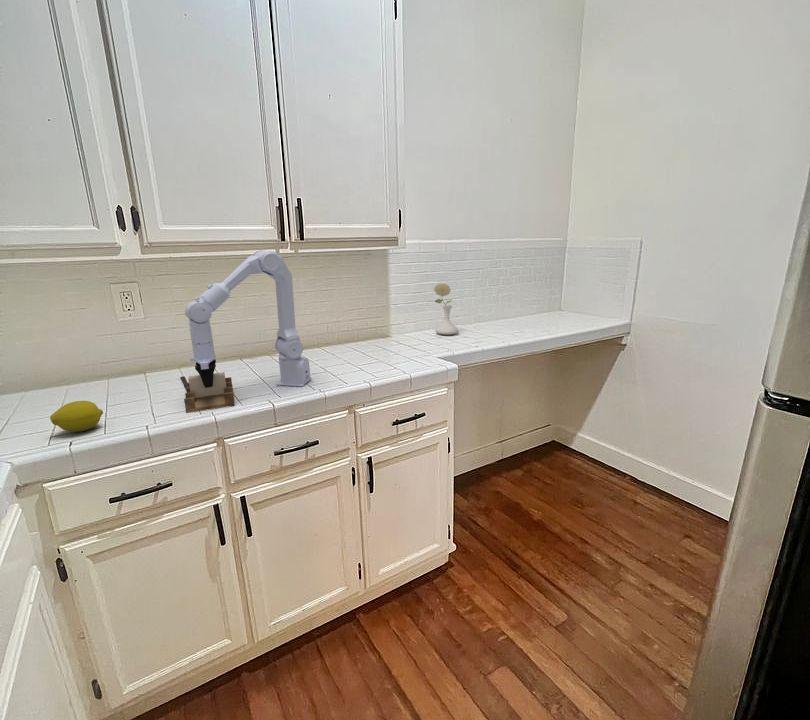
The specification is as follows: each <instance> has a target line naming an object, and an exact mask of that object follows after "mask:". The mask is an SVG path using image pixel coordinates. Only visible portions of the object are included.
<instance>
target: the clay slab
mask: <svg viewBox="0 0 810 720" xmlns="http://www.w3.org/2000/svg"><path fill="white" fill-rule="evenodd" d="M225 378H226V374H225V371H224V372H217V373H216V372H214V374H213V386H212V387H208V388H205V387H204V384H203V382H202V379H201V376H200V375H198V376H190V377H189V378H188V380H189V387H190V392H195V397H202V396H209V395H217V394H224V388H226V380H225Z"/></svg>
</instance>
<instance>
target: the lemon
mask: <svg viewBox="0 0 810 720" xmlns="http://www.w3.org/2000/svg"><path fill="white" fill-rule="evenodd" d="M103 413H104V411H103V410H102V409H101V408H99V407H98V406H97V404H96V403H94V402H92V401H89V400H76V401H71V402H68V403H65V404H64V405H63V406H60V408H58V409H57V410H56V411H54V412H53V413H52V414H50V417H49V419H50V423H51V424H53V425H54V426H56V427H57V426H58V427H59V428H60V429H62V430H63V431H66V432H71V433H72V432H73V433H75V432H84V431H87V430H90V429H92V428H94V427H95V426H97V424H99V422H100V421H101V418H102V415H103Z"/></svg>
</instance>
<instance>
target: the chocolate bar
mask: <svg viewBox="0 0 810 720" xmlns="http://www.w3.org/2000/svg"><path fill="white" fill-rule="evenodd" d="M198 375H199V373H196V374H191V375H184V376H183V375H182V376H180V381H181V383H182V385H183V384H184V385H183V386H184V389H185V390H186V388H187V387H188V386H187V383H189V380H188V378H189V377H190V376H198Z"/></svg>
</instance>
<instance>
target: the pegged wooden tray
mask: <svg viewBox="0 0 810 720" xmlns="http://www.w3.org/2000/svg"><path fill="white" fill-rule="evenodd" d="M225 380H226V388H224V394H217V395H209V396H202V397H195V392H190V387H189V383H187V386H188V387H187V388H186V389H185V390H186V392H185V393H184V395H185V398H184V399H183V401H184V408H185V413H186V414H188V413H193V412H201V411H205V410H207V409H208V410H213V409H220V408H221V409H222V408H228V407H234V406H235V405H236V404H235V397H234V387H233V381H232V376H230V377H229V376H228V377H225Z"/></svg>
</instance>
